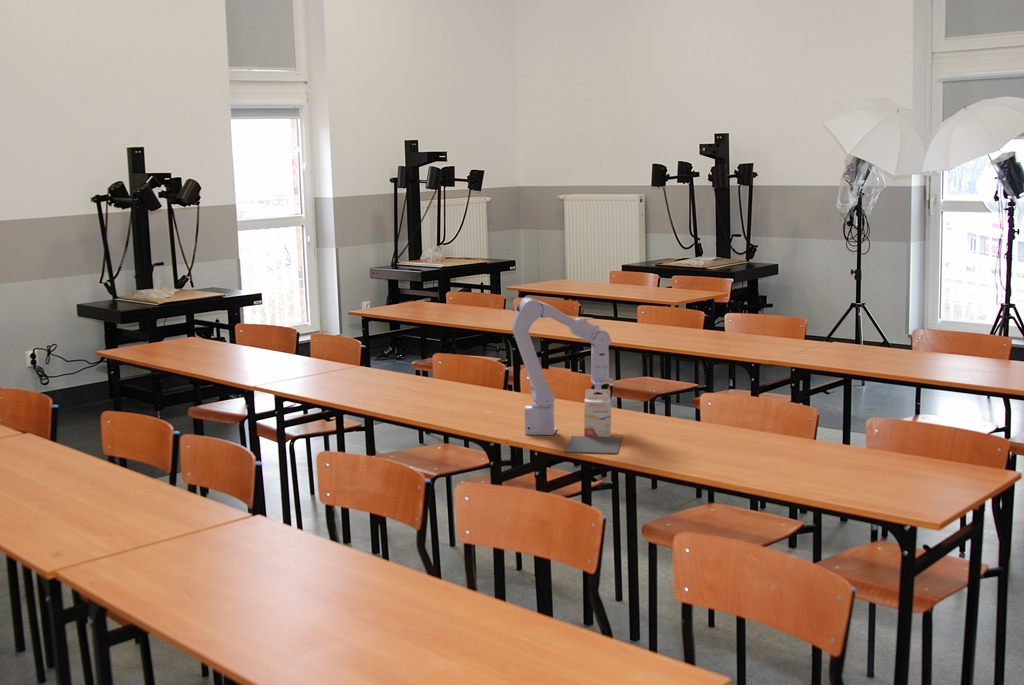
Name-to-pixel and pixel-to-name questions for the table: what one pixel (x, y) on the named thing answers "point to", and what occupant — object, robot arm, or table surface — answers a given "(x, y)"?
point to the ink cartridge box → (597, 413)
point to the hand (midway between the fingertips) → (600, 406)
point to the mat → (593, 445)
